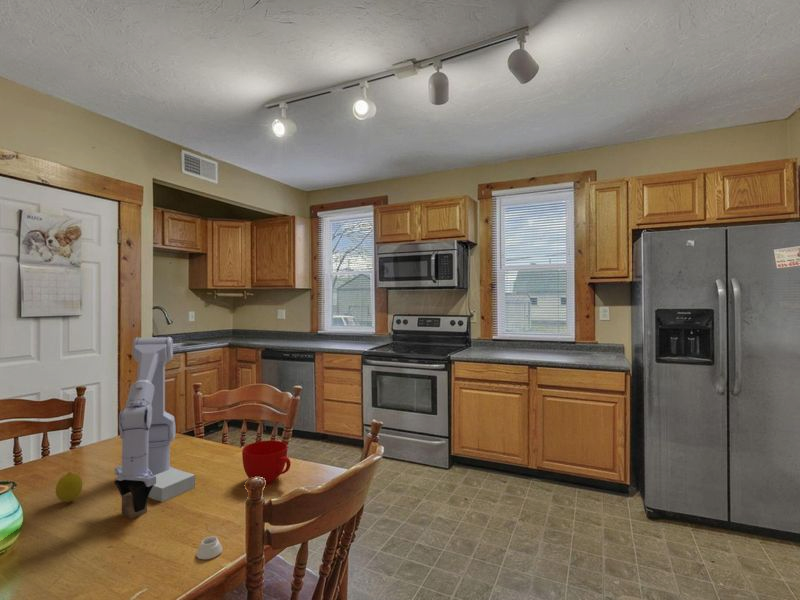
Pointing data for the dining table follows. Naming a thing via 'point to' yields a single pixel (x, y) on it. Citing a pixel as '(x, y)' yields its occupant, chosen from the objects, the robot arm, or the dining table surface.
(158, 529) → the dining table surface
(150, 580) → the dining table surface
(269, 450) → the ceramic cup
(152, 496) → the base block
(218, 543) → the white tapered collar
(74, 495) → the lemon
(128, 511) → the walnut block
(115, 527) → the dining table surface
